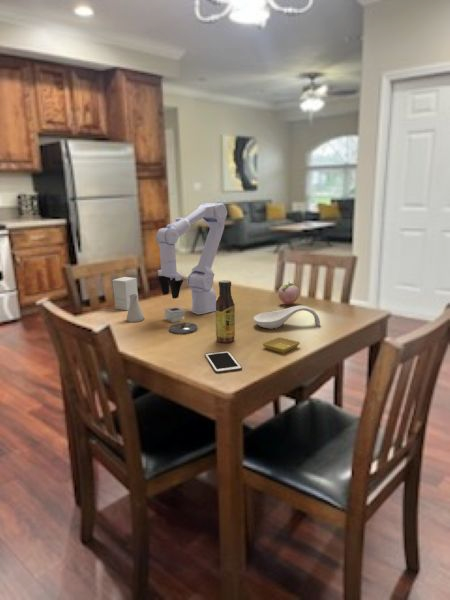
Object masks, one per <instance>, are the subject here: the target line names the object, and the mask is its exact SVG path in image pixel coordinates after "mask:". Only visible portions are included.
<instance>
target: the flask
mask: <svg viewBox="0 0 450 600" xmlns="http://www.w3.org/2000/svg"><path fill="white" fill-rule="evenodd" d="M137 295H138V296H139V293H138V294H130V295H129V297H130V307H129V310H127V311H128V312H127V315H126V319H125V321H126V322H130V323H135V322H141V321H144V320H145V315H144V314H143V311H142V309H141V307H140V305H139V304H140V303H139V304H138V302H139V300H138V301H137Z"/></svg>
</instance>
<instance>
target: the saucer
mask: <svg viewBox="0 0 450 600" xmlns="http://www.w3.org/2000/svg"><path fill="white" fill-rule="evenodd" d="M279 343H281V344H279ZM300 343H301V342H300V341H297V340H293V339H288V338H286V337H285V338H284V337H275V338H273V339H271V340H268V341H265V342H262V346H263V347H264V348H265V349H266V350H271V351H273V350H274V352H277V353H280V352H281V354H285V353H287V352H289V350H290V351H292V350H294V349H296V348H297V347H298V346H299V345H300ZM287 345H289V346H290V347H289V346H287ZM293 348H294V349H293ZM291 349H292V350H291Z"/></svg>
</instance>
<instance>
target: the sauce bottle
mask: <svg viewBox="0 0 450 600" xmlns="http://www.w3.org/2000/svg"><path fill="white" fill-rule="evenodd" d="M218 287H219V290H218V291H219V293H218V294H219V295H218V297H217V298H216V311H215V336H216V341H217V342H219V343H225V344H226V343H231V342H233V341H235V338H236V337H235V336H236V310H235V309H236V304H235V302H234V299H233V296H232V291H231V290H232V281H231V280H228V279H227V280H226V279H225V280H222V279H221V280H219V281H218Z"/></svg>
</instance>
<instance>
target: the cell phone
mask: <svg viewBox="0 0 450 600" xmlns="http://www.w3.org/2000/svg"><path fill="white" fill-rule="evenodd" d="M204 356H205V357H204V358H205V359H206V360H207V362H208V364H209V366H211V368H212V370H213V372H214V373H215V374H223V373H224V374H225V373H229V372H230V373H232V372H239V371H243V367H242V365H241V364H240V363H239V361H237V359H236V358H235V356H233V354H232V353H231V352H230V351H229V350H223V351H222V350H221V351H214V352H206V353H205V354H204Z"/></svg>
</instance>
